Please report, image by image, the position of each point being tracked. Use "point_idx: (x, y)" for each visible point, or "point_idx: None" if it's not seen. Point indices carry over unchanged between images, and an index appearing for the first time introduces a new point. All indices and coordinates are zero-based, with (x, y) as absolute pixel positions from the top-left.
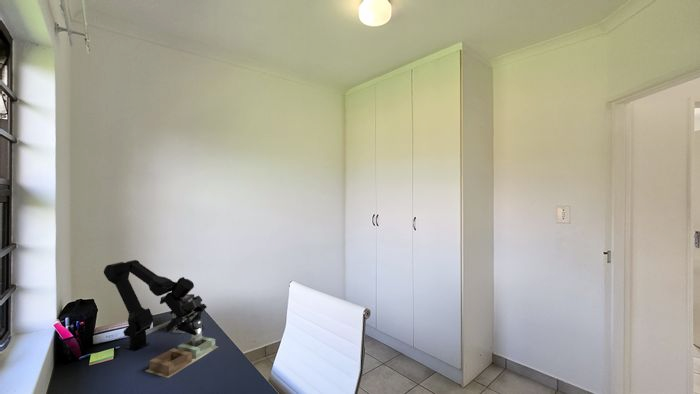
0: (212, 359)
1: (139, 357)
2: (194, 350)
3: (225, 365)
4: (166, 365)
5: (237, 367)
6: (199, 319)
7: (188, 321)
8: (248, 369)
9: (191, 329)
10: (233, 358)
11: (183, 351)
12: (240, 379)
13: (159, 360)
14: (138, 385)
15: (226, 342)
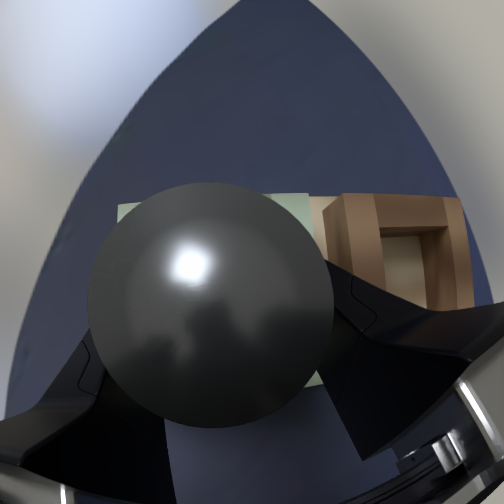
0: (232, 151)
1: (368, 490)
2: (309, 209)
3: (246, 73)
4: (462, 214)
5: (237, 38)
6: (130, 300)
7: (438, 330)
8: (231, 15)
9: (337, 271)
10: (185, 81)
11: (360, 262)
12: (285, 12)
13: (461, 293)
14: (478, 279)
15: (59, 233)
